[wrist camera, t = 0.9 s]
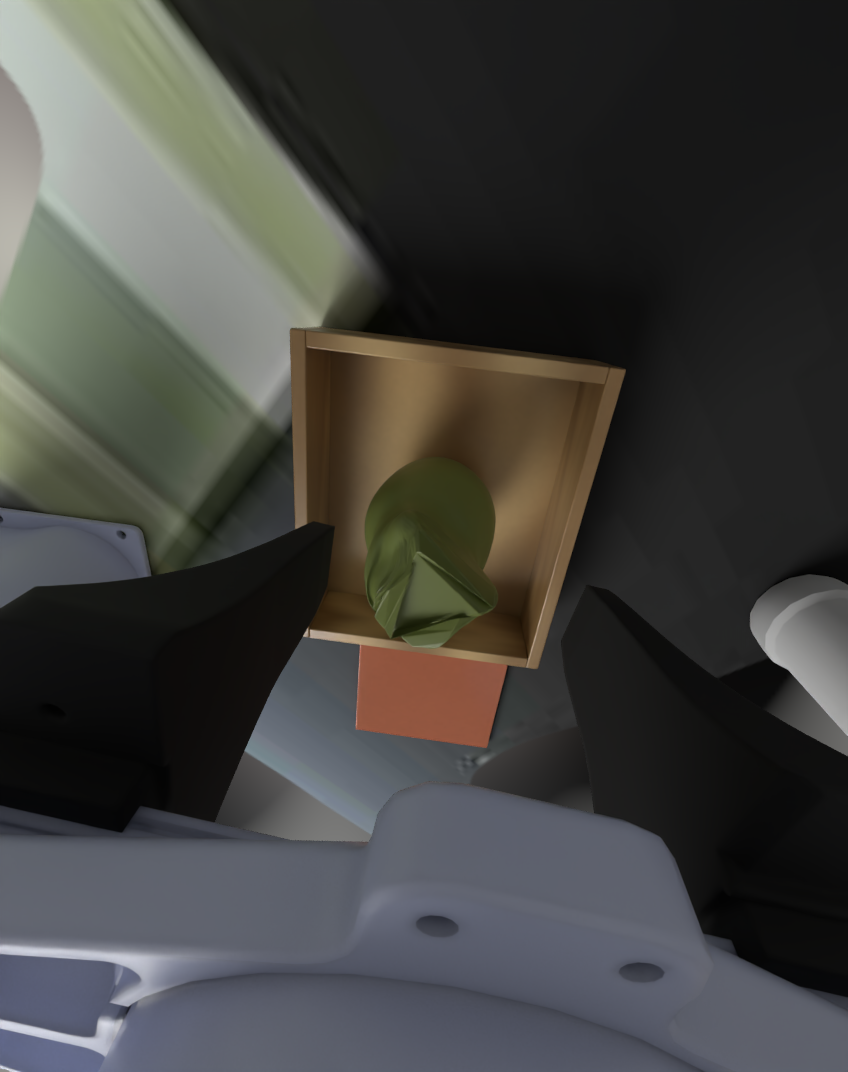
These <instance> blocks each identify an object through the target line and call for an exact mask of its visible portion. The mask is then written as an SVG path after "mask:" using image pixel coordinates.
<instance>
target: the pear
mask: <svg viewBox="0 0 848 1072" xmlns="http://www.w3.org/2000/svg"><path fill="white" fill-rule="evenodd" d="M495 524H496V515H495V508H494V504H493V500H492V498H491V495H490V493H489V491H488V489H487V488H486V486H485V484H484V483H483V482H482V481H481V479H480V478H479V477H478V476H477V475H476V474H475V473H474V472H473V471H472V470H470V469H469V468H468V467H466V466H465V465H463V464H461V463H459V462H457V461H455V460H452V459H448V458H444V457H427V458H422V459H419V460H416V461H413V462H411V463H409V464H407V465H405V466H403V467H402V468H400V469H399V470H397V471H396V472H395V473H394V474H392V475H391V476H390V477H389V478H388V479H387V480H386V481H385V482H384V483H383V484H382V486H381V487H380V488H379V489H378V491H377V492H376V494H375V495H374V497H373V499H372V501H371V503H370V505H369V507H368V510H367V514H366V518H365V541H366V546H367V550H368V553H367V557H366V562H365V570H364V580H365V588H366V594H367V598H368V601H369V604H370V606H371V607H372V609H373V610H374V612H375V613H376V614H375V616H374V617H375V619H376V620H377V621H378V623H379V624H380V625H381V626H382V627H383V628H384V629H385V630H386V632H387V634H388V635H389V637H390V639H393V638H398V637H402V639H403V640H405V641H406V642H407V643H408V644H410V645H411V646H412V647H422V648H429V649H434V648H439V647H440V646H442V645H443V644H444V643H446V642H447V641H448V640H449V639H450V638H451V637H452V636H453V635H454V634H455V633H456V632H458V630H461V628H463V627H464V626H465V625H467V624H468V623H470V622H471V621H472V620H474V619H475V618H476V617H478V616H481V615H483V614H486V613H488V612H490V611H491V610H492V609H493V608H494V607H495V606H496V604H497V602H498V593H497V590H496V587H495V586H494V585H493V583H492V582H491V580H490V579H489V578H488V577H487V575H486V574H485V573H484V572H483V569H484V567H485V565H486V562H487V560H488V557H489V554H490V551H491V547H492V543H493V539H494V533H495ZM392 634H393V635H392Z"/></svg>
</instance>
